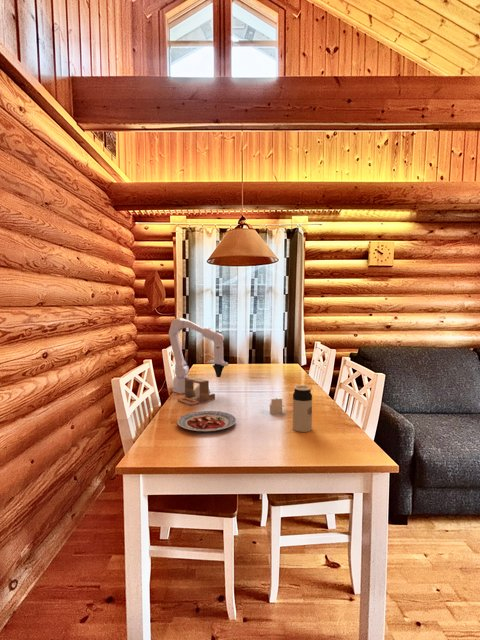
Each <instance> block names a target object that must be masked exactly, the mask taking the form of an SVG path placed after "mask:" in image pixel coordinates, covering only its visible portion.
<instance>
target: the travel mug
mask: <svg viewBox="0 0 480 640" xmlns="http://www.w3.org/2000/svg"><path fill="white" fill-rule="evenodd" d="M293 389H294V392H293V394H292V429H293V430H294V431H296V432H298V433H299V432H300V433H308V432H310V431H312V428H313V427H312V426H313V422H312V421H313V394H312V393H311V391H312V387H311V386H309V385H306V384H305V385H303V384H301V385H300V384H299V385H294V386H293Z"/></svg>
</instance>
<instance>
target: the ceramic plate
mask: <svg viewBox="0 0 480 640" xmlns="http://www.w3.org/2000/svg"><path fill="white" fill-rule="evenodd" d="M236 422H237V418H236V416H234V415H233V414H231V413H228V412H224V411H217V410H202V411H201V410H200V411H194V412H189V413H186V414H183V415H181V416H180V417H179V418H178V419H177V424H178V426H179V427H181V428H182V429H186V430H189V431H196V432H215V431H220V430H225V429H228V428H230V427H232V426H233V425H235V424H236Z"/></svg>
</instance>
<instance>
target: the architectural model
mask: <svg viewBox="0 0 480 640" xmlns="http://www.w3.org/2000/svg"><path fill="white" fill-rule="evenodd" d="M284 407H285V405H284V404H283V398H278V397H276V398H272V399H271V400H270V404H269V414H283V408H284Z"/></svg>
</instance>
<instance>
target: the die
mask: <svg viewBox="0 0 480 640" xmlns="http://www.w3.org/2000/svg"><path fill="white" fill-rule="evenodd" d="M194 392H195V395H196V396H195V397H196V399H197V400H200V384H198V383H197V386H196V387H194ZM209 394H211V390H210V389H209Z"/></svg>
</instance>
